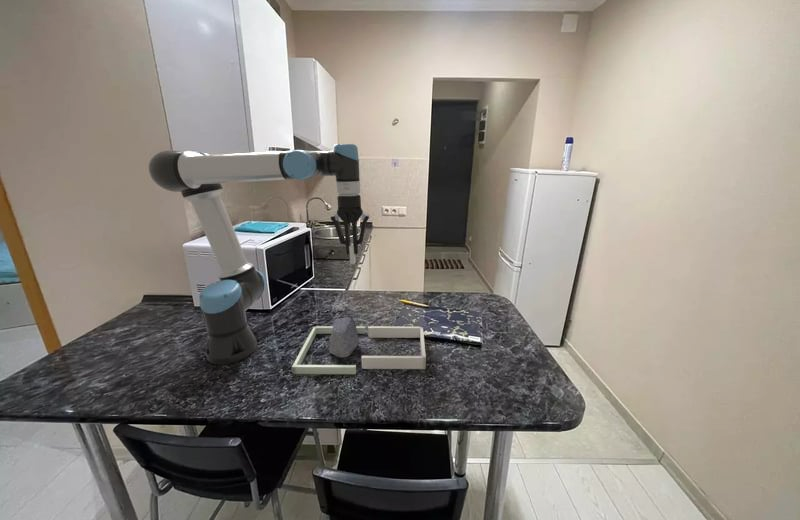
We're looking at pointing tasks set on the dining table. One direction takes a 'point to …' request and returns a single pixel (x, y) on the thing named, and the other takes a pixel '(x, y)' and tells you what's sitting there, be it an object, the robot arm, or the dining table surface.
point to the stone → (343, 337)
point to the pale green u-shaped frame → (322, 369)
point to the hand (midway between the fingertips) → (353, 262)
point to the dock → (395, 361)
